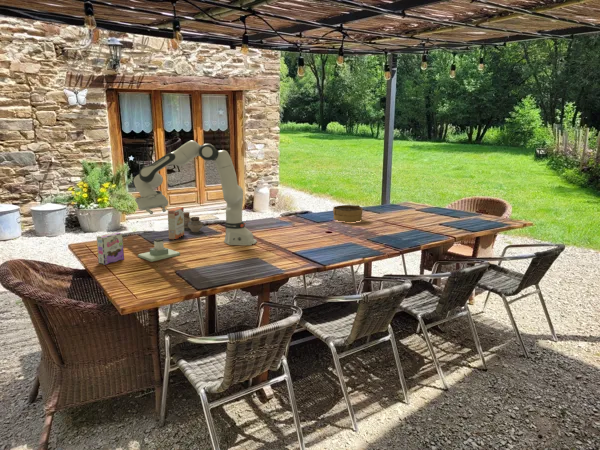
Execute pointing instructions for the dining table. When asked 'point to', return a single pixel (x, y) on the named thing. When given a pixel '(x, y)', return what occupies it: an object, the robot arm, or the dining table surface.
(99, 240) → the candy box
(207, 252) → the dining table surface
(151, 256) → the holder plate
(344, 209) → the steamer basket
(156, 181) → the robot arm
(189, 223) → the pottery
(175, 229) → the cracker box
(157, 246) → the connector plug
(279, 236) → the dining table surface
